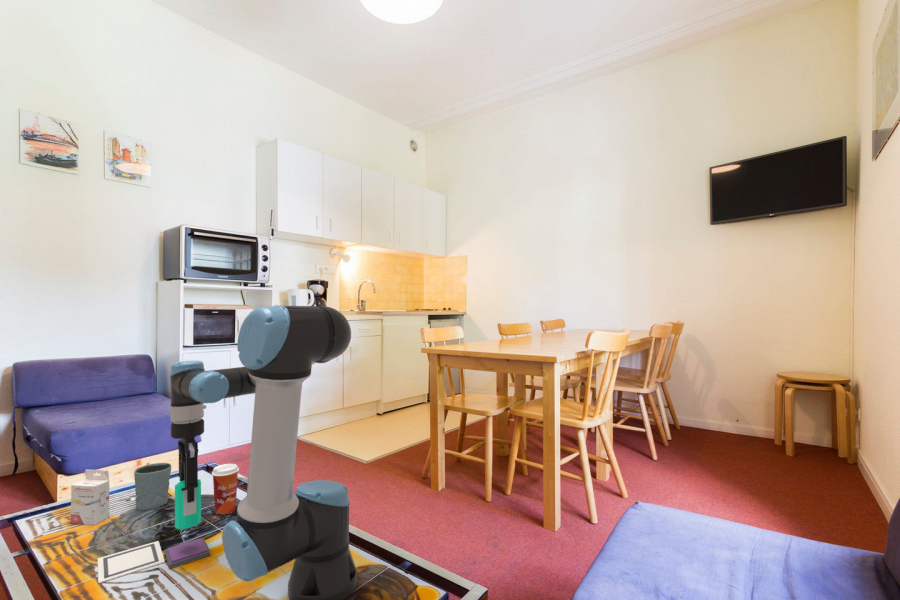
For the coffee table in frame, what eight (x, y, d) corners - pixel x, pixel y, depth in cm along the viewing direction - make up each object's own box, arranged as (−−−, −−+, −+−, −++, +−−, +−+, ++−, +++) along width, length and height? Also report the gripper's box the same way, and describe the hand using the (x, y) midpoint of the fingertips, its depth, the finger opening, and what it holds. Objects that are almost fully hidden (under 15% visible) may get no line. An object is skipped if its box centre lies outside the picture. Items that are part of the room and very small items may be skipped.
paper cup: (218, 520, 131) (218, 473, 132) (207, 513, 136) (207, 468, 136) (244, 510, 137) (244, 466, 138) (232, 504, 142) (232, 461, 142)
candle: (188, 529, 109) (188, 481, 109) (168, 528, 110) (168, 480, 111) (206, 518, 115) (206, 473, 115) (187, 517, 116) (187, 472, 116)
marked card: (164, 562, 109) (164, 561, 109) (98, 583, 101) (98, 582, 101) (158, 541, 119) (158, 540, 119) (97, 559, 111) (97, 558, 111)
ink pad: (210, 555, 112) (210, 550, 112) (169, 569, 106) (169, 563, 106) (203, 541, 119) (203, 536, 119) (164, 553, 113) (164, 548, 113)
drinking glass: (126, 509, 139) (126, 471, 140) (155, 496, 149) (156, 461, 149) (150, 513, 136) (150, 474, 137) (178, 499, 146) (178, 463, 146)
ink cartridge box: (69, 524, 130) (69, 474, 130) (84, 516, 135) (85, 468, 135) (95, 525, 129) (95, 475, 129) (110, 517, 134) (110, 469, 134)
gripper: (211, 423, 109) (211, 517, 108) (197, 412, 123) (197, 495, 122) (176, 429, 104) (176, 527, 103) (166, 417, 118) (166, 503, 117)
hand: (188, 510), depth 113 cm, fingers closed on candle, 5 cm apart
